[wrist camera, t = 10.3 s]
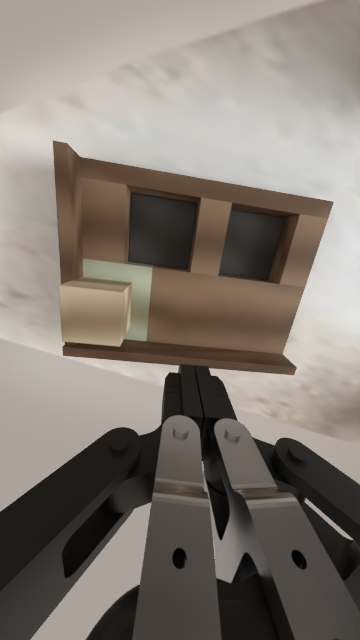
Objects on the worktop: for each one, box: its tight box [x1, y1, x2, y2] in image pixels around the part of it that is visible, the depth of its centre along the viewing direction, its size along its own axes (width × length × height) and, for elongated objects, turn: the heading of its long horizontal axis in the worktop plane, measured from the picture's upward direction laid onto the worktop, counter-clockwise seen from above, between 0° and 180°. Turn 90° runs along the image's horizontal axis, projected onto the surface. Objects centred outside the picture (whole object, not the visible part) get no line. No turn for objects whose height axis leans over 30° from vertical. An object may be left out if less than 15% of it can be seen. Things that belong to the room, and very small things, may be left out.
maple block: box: [59, 277, 132, 347], centre depth 20 cm, size 5×5×5 cm
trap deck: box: [53, 141, 333, 375], centre depth 22 cm, size 18×25×6 cm
